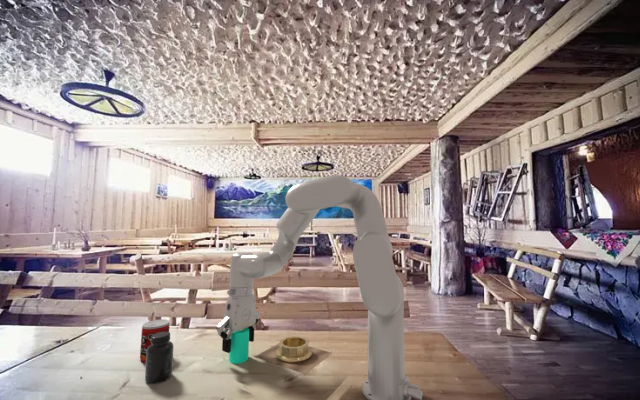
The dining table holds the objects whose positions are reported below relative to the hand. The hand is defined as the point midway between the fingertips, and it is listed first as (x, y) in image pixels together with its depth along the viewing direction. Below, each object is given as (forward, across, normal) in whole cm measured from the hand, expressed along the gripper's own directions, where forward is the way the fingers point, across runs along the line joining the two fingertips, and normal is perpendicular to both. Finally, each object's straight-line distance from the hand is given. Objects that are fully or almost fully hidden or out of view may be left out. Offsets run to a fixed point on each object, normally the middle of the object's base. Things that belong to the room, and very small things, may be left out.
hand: (238, 345), depth 88 cm
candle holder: (+4, +12, -13) cm, 18 cm away
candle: (+6, 0, 0) cm, 6 cm away
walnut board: (+5, +12, -13) cm, 19 cm away
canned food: (+6, -12, +27) cm, 30 cm away
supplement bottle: (+6, -18, +13) cm, 23 cm away
